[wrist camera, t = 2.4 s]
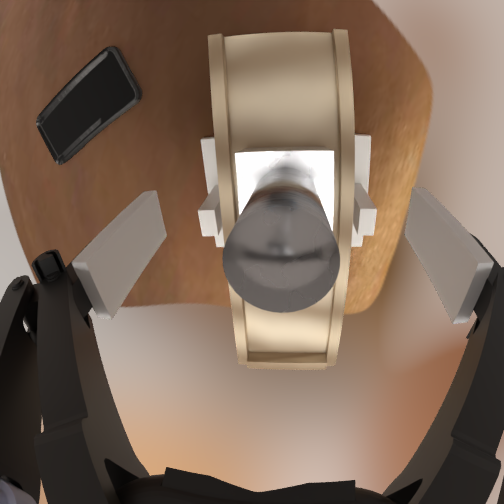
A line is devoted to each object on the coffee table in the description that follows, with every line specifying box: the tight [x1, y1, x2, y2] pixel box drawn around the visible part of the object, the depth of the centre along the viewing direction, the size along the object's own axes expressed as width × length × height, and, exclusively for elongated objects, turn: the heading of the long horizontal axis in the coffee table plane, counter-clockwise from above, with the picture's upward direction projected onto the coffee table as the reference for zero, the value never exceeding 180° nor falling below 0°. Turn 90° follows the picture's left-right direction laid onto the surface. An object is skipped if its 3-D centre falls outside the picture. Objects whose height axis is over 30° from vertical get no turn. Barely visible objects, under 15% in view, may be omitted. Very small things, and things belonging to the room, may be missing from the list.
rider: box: [223, 146, 340, 313], centre depth 16 cm, size 6×6×13 cm
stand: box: [198, 134, 377, 247], centre depth 28 cm, size 20×16×7 cm
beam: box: [208, 29, 355, 370], centre depth 24 cm, size 30×11×5 cm, turn 4°
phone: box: [36, 47, 142, 165], centre depth 25 cm, size 8×1×15 cm
